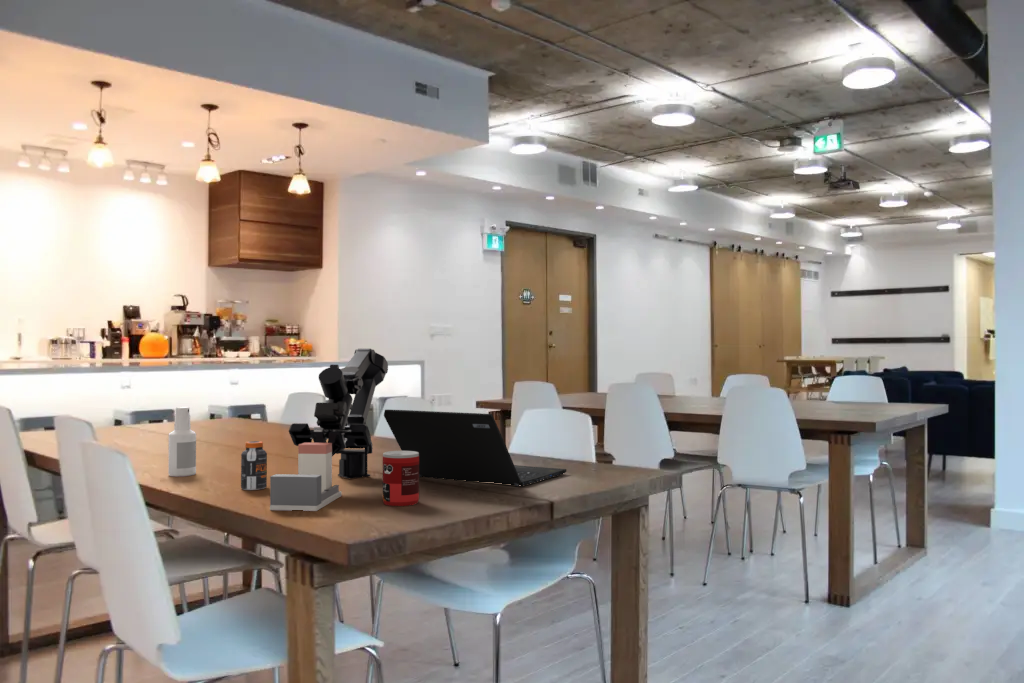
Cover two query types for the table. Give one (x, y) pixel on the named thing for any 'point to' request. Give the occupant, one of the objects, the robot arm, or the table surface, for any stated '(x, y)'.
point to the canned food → (400, 478)
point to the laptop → (461, 447)
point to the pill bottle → (254, 466)
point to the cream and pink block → (316, 462)
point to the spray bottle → (182, 446)
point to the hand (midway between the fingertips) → (321, 463)
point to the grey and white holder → (300, 492)
